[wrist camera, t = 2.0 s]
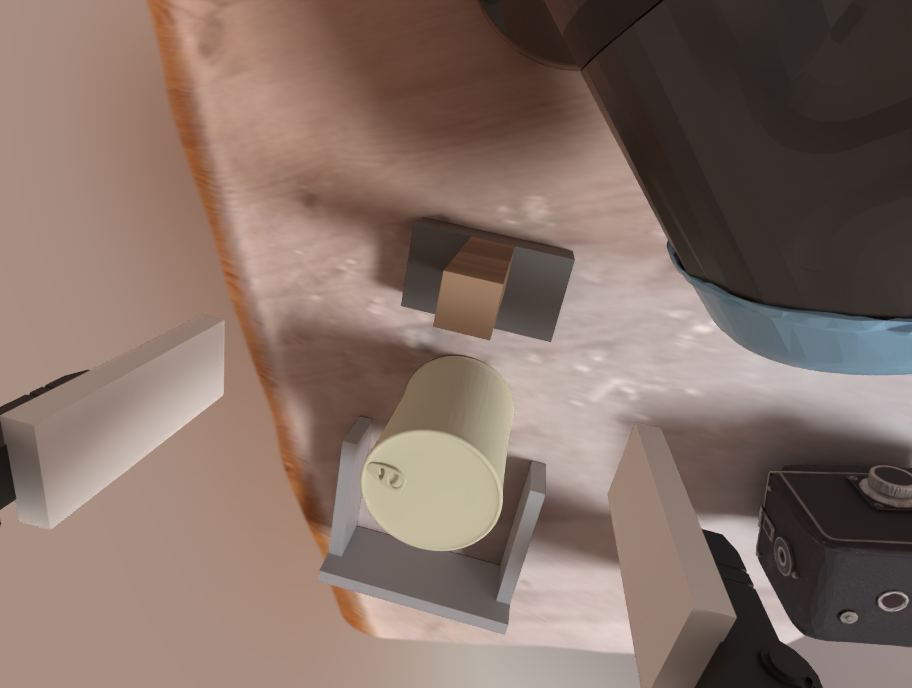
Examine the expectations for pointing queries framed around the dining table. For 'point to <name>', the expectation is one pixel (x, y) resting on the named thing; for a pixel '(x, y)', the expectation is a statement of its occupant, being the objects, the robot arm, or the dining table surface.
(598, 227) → the dining table surface
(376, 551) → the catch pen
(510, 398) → the can
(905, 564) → the camera
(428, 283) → the scraper
